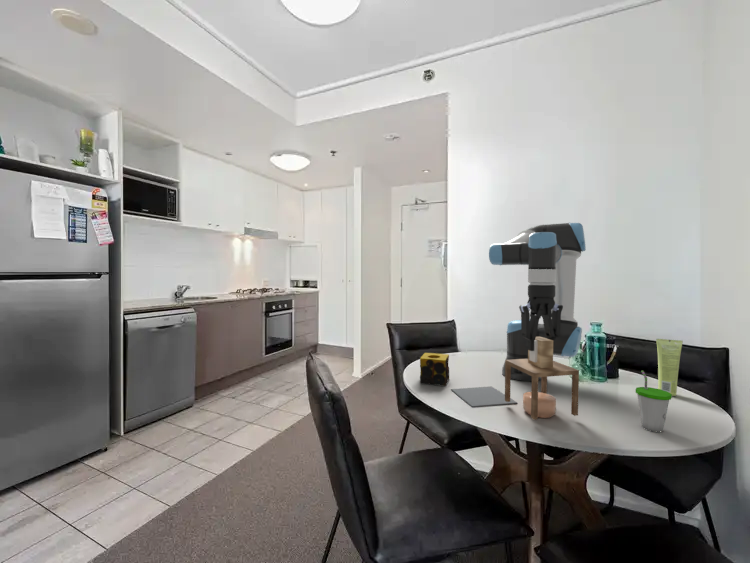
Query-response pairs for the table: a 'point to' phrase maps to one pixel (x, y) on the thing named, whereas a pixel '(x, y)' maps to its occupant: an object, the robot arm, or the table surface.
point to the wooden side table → (542, 374)
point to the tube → (668, 364)
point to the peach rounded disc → (541, 404)
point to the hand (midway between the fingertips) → (540, 360)
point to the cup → (652, 406)
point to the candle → (434, 369)
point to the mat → (482, 396)
